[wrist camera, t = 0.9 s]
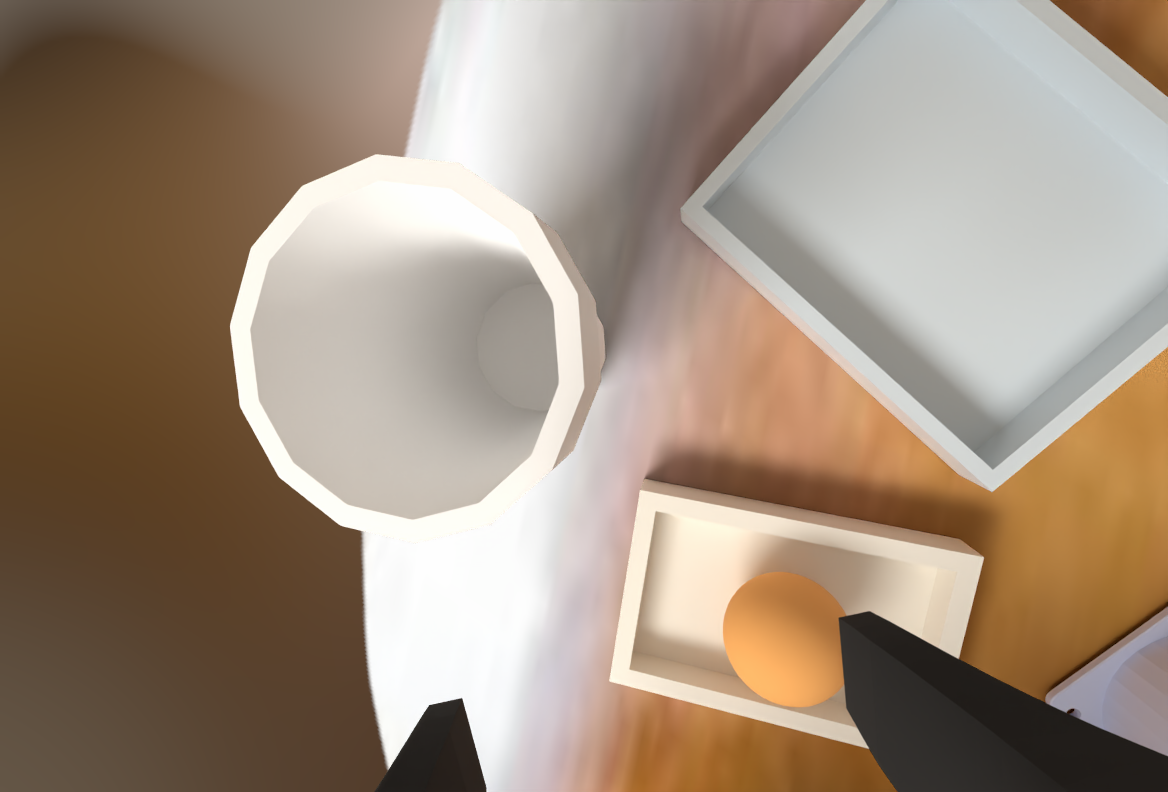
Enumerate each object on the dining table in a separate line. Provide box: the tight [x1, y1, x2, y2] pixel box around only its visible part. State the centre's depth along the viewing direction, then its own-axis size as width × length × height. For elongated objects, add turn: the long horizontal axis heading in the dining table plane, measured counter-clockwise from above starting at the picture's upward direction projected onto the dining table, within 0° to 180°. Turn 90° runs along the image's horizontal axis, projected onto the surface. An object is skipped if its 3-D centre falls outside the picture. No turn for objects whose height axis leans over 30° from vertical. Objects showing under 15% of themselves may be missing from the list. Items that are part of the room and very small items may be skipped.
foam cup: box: [230, 154, 606, 543], centre depth 20 cm, size 10×9×13 cm
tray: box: [680, 0, 1168, 492], centre depth 21 cm, size 16×13×3 cm
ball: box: [723, 572, 847, 707], centre depth 22 cm, size 5×5×5 cm
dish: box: [609, 479, 984, 749], centre depth 24 cm, size 14×9×2 cm
